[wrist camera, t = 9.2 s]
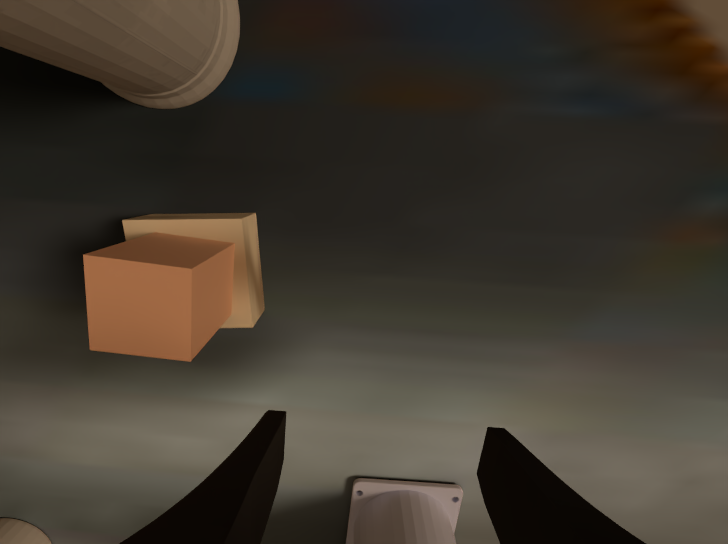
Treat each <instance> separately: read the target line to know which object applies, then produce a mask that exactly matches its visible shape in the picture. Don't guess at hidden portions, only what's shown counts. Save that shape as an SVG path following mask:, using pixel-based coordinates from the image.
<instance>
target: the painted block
mask: <svg viewBox="0 0 728 544" xmlns="http://www.w3.org/2000/svg"><path fill="white" fill-rule="evenodd" d="M234 250H235V243H231V242H223V241H216V240H209V239H201V238H194V237H187V236H179V235H172V234H165V233H157V232H155V233H151V234H148V235H145V236H142V237H138V238H135V239H132V240H129V241H126V242H122V243H119V244H116V245H113V246H109V247H106V248H103V249H100V250H97V251H93V252H90V253H87V254H84V255H83V261H84V275H85V289H86V303H87V317H88V331H89V345H90V350H93V351H102V352H111V353H119V354H128V355H137V356H145V357H154V358H163V359H172V360H180V361H189V362H191V361H192V360H193V358H194V357H195V356H196V355H197V354H198V353H199V351H200V350H201V349H202V348H203V347H204V346H205V344H206V343H207V342H208V341H209V340H210V339H211V337H212V336H213V335H214V334H215V333H216V332H217V330H218V329H219V328H220V327H221V326H222V325H223V323H224V322H225V321H226V320H227V319H228V318H229V317H230V315H231V312H232V291H233V271H234Z"/></svg>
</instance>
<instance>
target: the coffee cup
mask: <svg viewBox="0 0 728 544" xmlns="http://www.w3.org/2000/svg"><path fill="white" fill-rule="evenodd" d="M0 544H52V543H51V541H50V540H49V538H48V537H47V536H46V535H45V534H44V533H43V532H42V531H41V530H40V529H38V528H37V527H35V526H33V525H31V524H29V523H27V522H24V521H21V520H17V519H12V518H0Z"/></svg>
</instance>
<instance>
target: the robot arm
mask: <svg viewBox="0 0 728 544" xmlns="http://www.w3.org/2000/svg"><path fill="white" fill-rule="evenodd" d="M285 426H286V411H274V410H268V411H267V412H266V413H265V414H264V415H263V417H262V418H261V419H260V421H259V422H258V423H257V424H256V426H255V427H254V428H253V429H252V431H251V432H250V433H249V434H248V435H247V437H246V438H245V439H244V440H243V441H242V442H241V443H240V444H239V446H238V447H237V448H236V449H235V450H234V451H233V452H232V453H231V454H230V455H229V456H228V457H227V458H226V459H225V460H224V461H223V462H222V463H221V464H220V465H219V466H218V467H217V468H216V469H215V470H214V471H213V472H212V473H211V474H210V475H209V476H208V477H207V478H206V479H205V480H204V481H203V482H202V483H200V484H199V485H198V486H197V487H196V488H195V489H194V490H192V491H191V492H190V493H189V494H188V495H186V496H185V497H184V498H183V499H182V500H180V501H179V502H178V503H176V504H175V505H174V506H173V507H171V508H170V509H169V510H168V511H166V512H165V513H164V514H162V515H161V516H160V517H158V518H157V519H155V520H154V521H153V522H151V523H150V524H148V525H147V526H145V527H144V528H142V529H141V530H139V531H138V532H136V533H135V534H133V535H132V536H130V537H129V538H127V539H126V540H124V541H123V542H121V543H120V544H260V543H261V540H262V536H263V533H264V530H265V527H266V524H267V521H268V518H269V515H270V511H271V508H272V505H273V502H274V499H275V496H276V492H277V489H278V484H279V479H280V475H281V470H282V465H283V460H284V444H285ZM477 476H478V480H479V484H480V488H481V492H482V495H483V499H484V503H485V505H486V508H487V511H488V513H489V516H490V519H491V521H492V524H493V526H494V529H495V531H496V534H497V536H498V539H499V541H500V544H646V543H644V542H643V541H641V540H640V539H638V538H637V537H635V536H634V535H632V534H631V533H629V532H628V531H626V530H625V529H623V528H622V527H620V526H619V525H618V524H616V523H615V522H614V521H612V520H611V519H610V518H608V517H607V516H605V515H604V514H603V513H601V512H600V511H599V510H597V509H596V508H595V507H593V506H592V505H591V504H590V503H588V502H587V501H586V500H585V499H583V498H582V497H581V496H580V495H579V494H577V493H576V492H575V491H574V490H573V489H571V488H570V487H569V486H568V485H567V484H565V483H564V482H563V481H562V480H561V479H560V478H558V477H557V476H556V475H555V474H554V473H553V472H552V471H551V470H549V469H548V468H547V467H546V466H545V465H544V464H543V463H542V462H541V461H540V460H539V459H537V458H536V457H535V456H534V455H533V454H532V453H531V452H530V451H529V450H528V449H527V448H526V447H525V446H523V445H522V444H521V443H520V442H519V441H518V440H517V439H516V438H515V437H514V436H513V435H511V434H510V433H509V432H508V431H507V430H506V429H505V428H494V427H488V428H487V432H486V436H485V440H484V445H483V449H482V453H481V457H480V462H479V466H478V470H477ZM359 490H360V491H359ZM462 496H463V491H462V488H461V486H459V485H454V484H439V483H425V482H410V481H395V480H381V479H366V478H358V479H356V480H355V481H354V482H353V488H352V496H351V505H350V513H349V521H348V529H347V537H346V544H456V541H455V537H454V531H455V527H456V523H457V518H458V514H459V510H460V505H461V501H462ZM453 497H455V498H453Z"/></svg>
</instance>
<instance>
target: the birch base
mask: <svg viewBox="0 0 728 544" xmlns="http://www.w3.org/2000/svg"><path fill="white" fill-rule="evenodd" d="M122 223H123V228H124V233H125V238H126V241H129V240H132V239H135V238H138V237H142V236H145V235H148V234H151V233H155V232H157V233H165V234H172V235H179V236H187V237H194V238H201V239H209V240H216V241H223V242H231V243H235V250H234V271H233V291H232V312H231V315H230V317H229V318H228V319H227V320H226V321H225V322H224V323H223V325H222V326H221V327H220V328H253V326H254V325H255V323H256V322H257V320H258V319H259V317H260V316H261V314H262V313H263V311H264V310H265V308H264V297H263V286H262V275H261V264H260V253H259V242H258V231H257V220H256V213H208V214H149V215H145V216H140V217H135V218H130V219H125V220H122Z"/></svg>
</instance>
